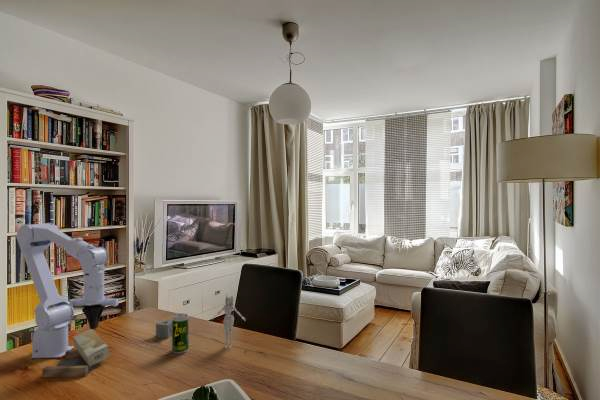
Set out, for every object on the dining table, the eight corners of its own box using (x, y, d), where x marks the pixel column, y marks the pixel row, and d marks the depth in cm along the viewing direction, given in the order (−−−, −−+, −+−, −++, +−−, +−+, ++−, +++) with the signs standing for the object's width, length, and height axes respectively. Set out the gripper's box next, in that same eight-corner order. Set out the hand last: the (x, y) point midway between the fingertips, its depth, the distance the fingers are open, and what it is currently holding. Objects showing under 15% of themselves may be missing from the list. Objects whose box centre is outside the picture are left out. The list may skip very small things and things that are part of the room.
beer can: (171, 348, 126) (171, 314, 126) (187, 346, 128) (187, 312, 128) (172, 355, 121) (172, 319, 121) (189, 352, 124) (189, 317, 123)
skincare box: (87, 356, 110) (71, 337, 118) (89, 367, 112) (73, 347, 119) (108, 345, 115) (92, 327, 122) (111, 355, 117) (94, 337, 124)
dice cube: (155, 337, 137) (155, 323, 136) (163, 332, 141) (163, 319, 141) (167, 338, 135) (167, 325, 135) (175, 333, 140) (175, 320, 140)
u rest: (42, 377, 106) (42, 368, 106) (68, 357, 119) (68, 349, 119) (85, 376, 107) (85, 368, 107) (106, 356, 120) (106, 349, 120)
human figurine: (210, 347, 128) (210, 296, 127) (214, 343, 132) (214, 293, 131) (243, 349, 126) (244, 297, 126) (246, 344, 130) (247, 294, 130)
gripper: (63, 289, 113) (63, 332, 113) (111, 289, 113) (111, 332, 114) (76, 283, 120) (76, 324, 120) (121, 283, 120) (121, 324, 121)
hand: (94, 328), depth 117 cm, fingers closed
